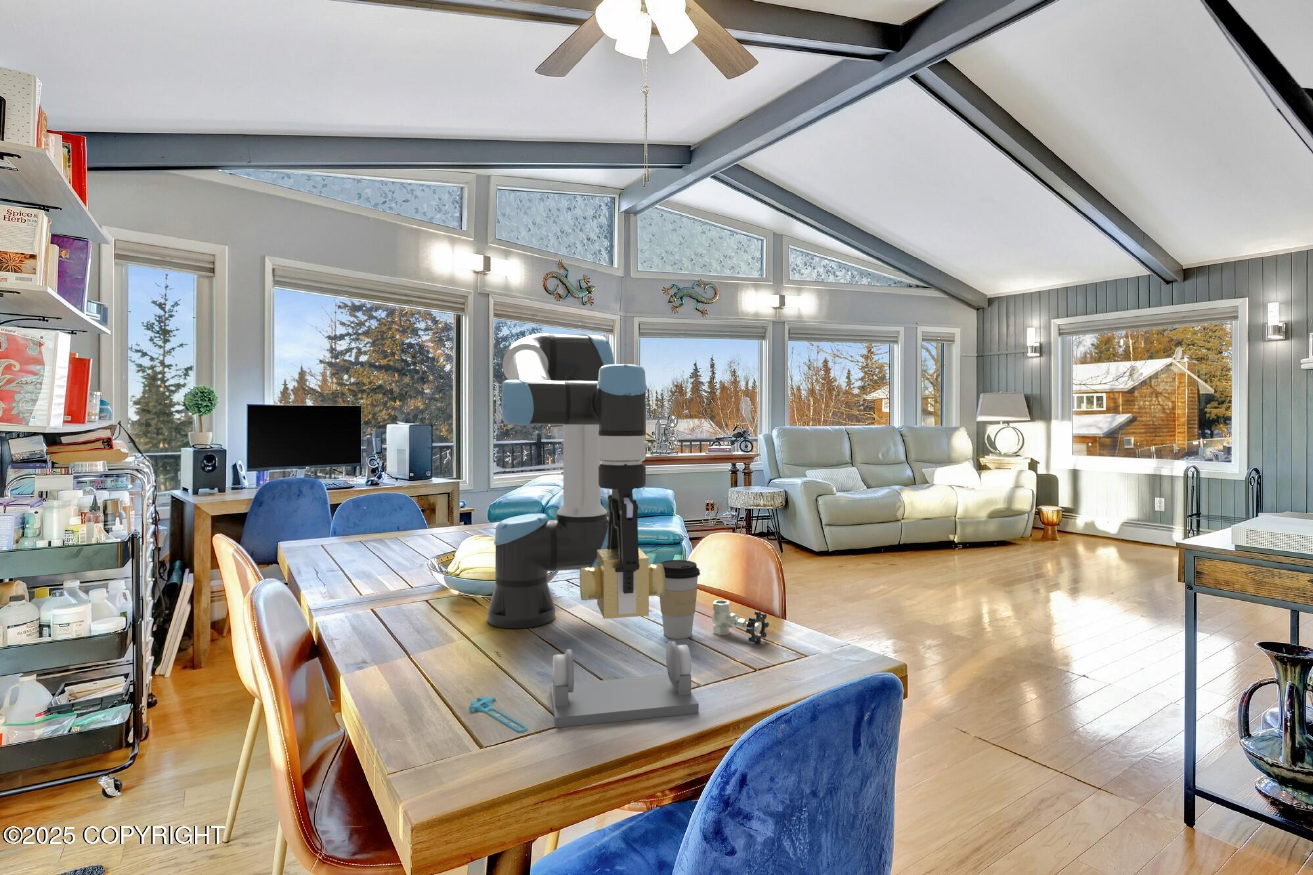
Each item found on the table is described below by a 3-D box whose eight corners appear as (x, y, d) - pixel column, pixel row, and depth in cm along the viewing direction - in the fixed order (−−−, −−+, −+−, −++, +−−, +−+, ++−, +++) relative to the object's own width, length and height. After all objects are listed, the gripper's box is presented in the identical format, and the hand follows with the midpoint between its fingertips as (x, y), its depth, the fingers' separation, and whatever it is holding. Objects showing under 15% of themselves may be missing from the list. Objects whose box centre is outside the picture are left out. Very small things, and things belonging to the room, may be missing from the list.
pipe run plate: (550, 693, 107) (550, 638, 107) (679, 682, 112) (679, 629, 112) (555, 727, 95) (555, 666, 95) (698, 712, 100) (698, 654, 100)
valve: (703, 634, 137) (749, 648, 129) (704, 603, 137) (750, 615, 128) (723, 626, 142) (769, 640, 133) (723, 597, 142) (769, 608, 133)
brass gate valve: (578, 605, 105) (578, 550, 105) (656, 600, 108) (656, 547, 108) (584, 620, 98) (583, 561, 97) (667, 614, 101) (667, 557, 100)
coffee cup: (686, 645, 130) (686, 571, 130) (646, 636, 135) (646, 565, 135) (707, 631, 138) (708, 562, 138) (669, 624, 143) (670, 557, 143)
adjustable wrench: (461, 702, 102) (489, 693, 106) (461, 708, 102) (489, 699, 106) (510, 732, 92) (539, 721, 96) (510, 739, 92) (539, 727, 96)
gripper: (660, 467, 93) (659, 623, 94) (633, 458, 113) (633, 587, 114) (608, 467, 91) (608, 627, 92) (590, 458, 112) (590, 589, 112)
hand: (622, 604), depth 103 cm, fingers closed on brass gate valve, 8 cm apart
